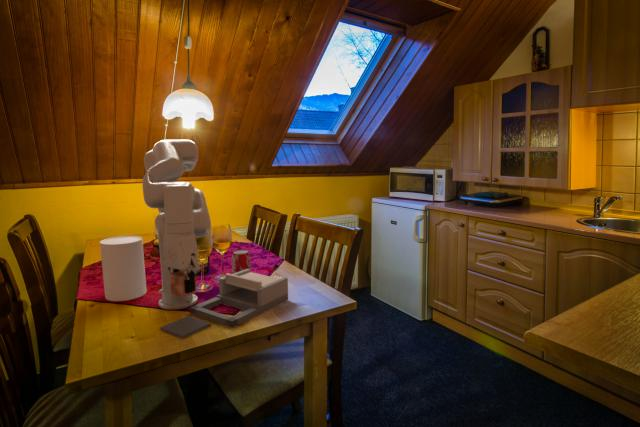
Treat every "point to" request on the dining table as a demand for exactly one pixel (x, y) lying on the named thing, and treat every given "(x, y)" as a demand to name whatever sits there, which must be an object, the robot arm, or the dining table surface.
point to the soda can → (240, 261)
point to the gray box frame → (243, 301)
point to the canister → (123, 267)
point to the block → (179, 284)
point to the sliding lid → (249, 280)
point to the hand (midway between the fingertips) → (183, 289)
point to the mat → (185, 326)
